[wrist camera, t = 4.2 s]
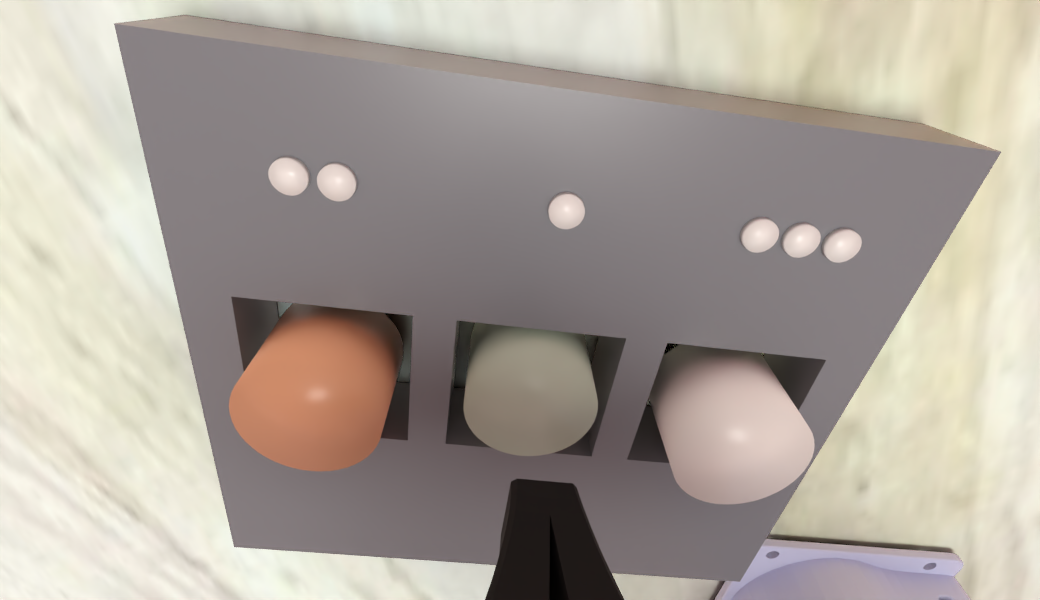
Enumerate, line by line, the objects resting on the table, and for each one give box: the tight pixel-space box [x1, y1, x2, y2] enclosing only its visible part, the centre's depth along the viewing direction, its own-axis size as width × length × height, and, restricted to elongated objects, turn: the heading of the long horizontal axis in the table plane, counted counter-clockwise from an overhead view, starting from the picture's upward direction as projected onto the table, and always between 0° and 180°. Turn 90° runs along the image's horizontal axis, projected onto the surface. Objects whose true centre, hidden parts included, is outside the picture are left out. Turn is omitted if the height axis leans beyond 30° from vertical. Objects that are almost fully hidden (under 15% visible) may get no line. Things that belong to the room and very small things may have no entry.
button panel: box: [114, 15, 1001, 582], centre depth 16 cm, size 18×16×3 cm
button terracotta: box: [229, 303, 404, 471], centre depth 14 cm, size 4×4×3 cm
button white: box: [649, 344, 815, 505], centre depth 15 cm, size 4×4×3 cm
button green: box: [463, 323, 598, 456], centre depth 16 cm, size 4×4×3 cm
